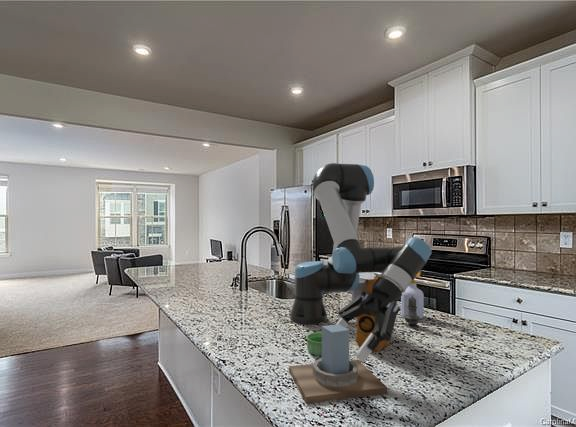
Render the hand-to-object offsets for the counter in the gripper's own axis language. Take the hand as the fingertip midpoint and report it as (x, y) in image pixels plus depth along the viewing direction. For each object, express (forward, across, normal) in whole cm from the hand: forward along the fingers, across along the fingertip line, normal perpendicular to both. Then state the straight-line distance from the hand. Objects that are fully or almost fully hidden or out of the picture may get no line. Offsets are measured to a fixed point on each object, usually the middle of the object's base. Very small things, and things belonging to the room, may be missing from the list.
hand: (343, 348), depth 85 cm
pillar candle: (-25, +54, -37) cm, 71 cm away
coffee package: (-10, +18, -22) cm, 31 cm away
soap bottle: (-35, +39, -48) cm, 71 cm away
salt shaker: (-28, +28, -41) cm, 57 cm away
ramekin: (+3, +20, -9) cm, 22 cm away
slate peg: (+6, 0, -3) cm, 7 cm away
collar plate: (+7, 0, -4) cm, 8 cm away
